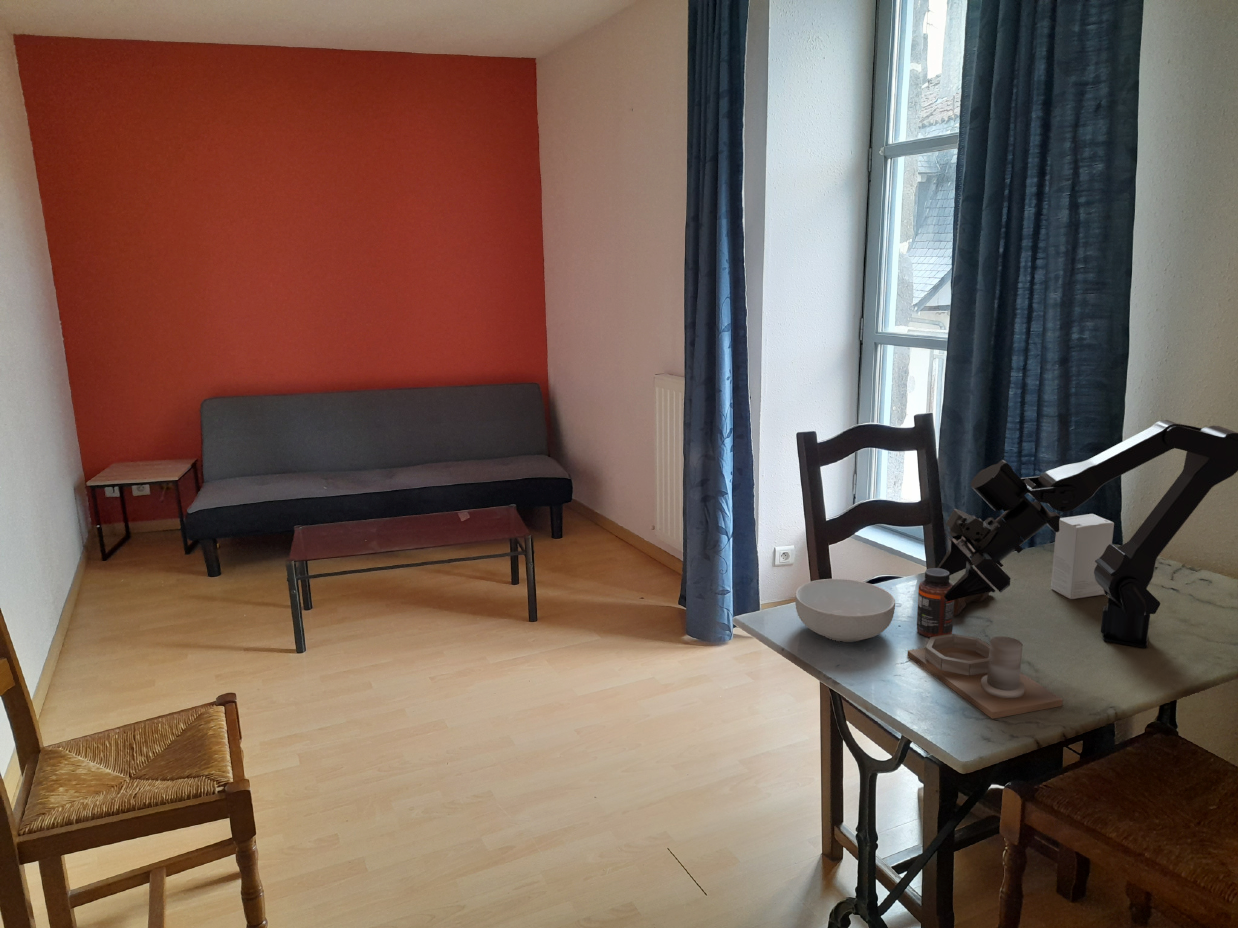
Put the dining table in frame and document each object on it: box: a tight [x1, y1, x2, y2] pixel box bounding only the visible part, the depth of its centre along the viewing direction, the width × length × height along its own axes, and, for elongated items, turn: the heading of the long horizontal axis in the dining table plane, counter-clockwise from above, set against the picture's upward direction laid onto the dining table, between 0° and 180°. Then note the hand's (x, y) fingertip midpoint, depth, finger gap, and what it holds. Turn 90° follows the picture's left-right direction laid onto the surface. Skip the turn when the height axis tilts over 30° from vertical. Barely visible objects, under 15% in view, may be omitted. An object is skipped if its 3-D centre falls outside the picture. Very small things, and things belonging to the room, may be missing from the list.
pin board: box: [906, 633, 1064, 720], centre depth 135 cm, size 21×12×8 cm, turn 15°
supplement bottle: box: [916, 567, 954, 639], centre depth 152 cm, size 6×6×11 cm
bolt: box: [953, 592, 991, 617], centre depth 165 cm, size 6×5×15 cm
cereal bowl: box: [794, 578, 896, 643], centre depth 153 cm, size 17×17×7 cm
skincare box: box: [1050, 513, 1115, 600], centre depth 167 cm, size 8×6×15 cm
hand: (939, 588), depth 151 cm, fingers open, 9 cm apart
